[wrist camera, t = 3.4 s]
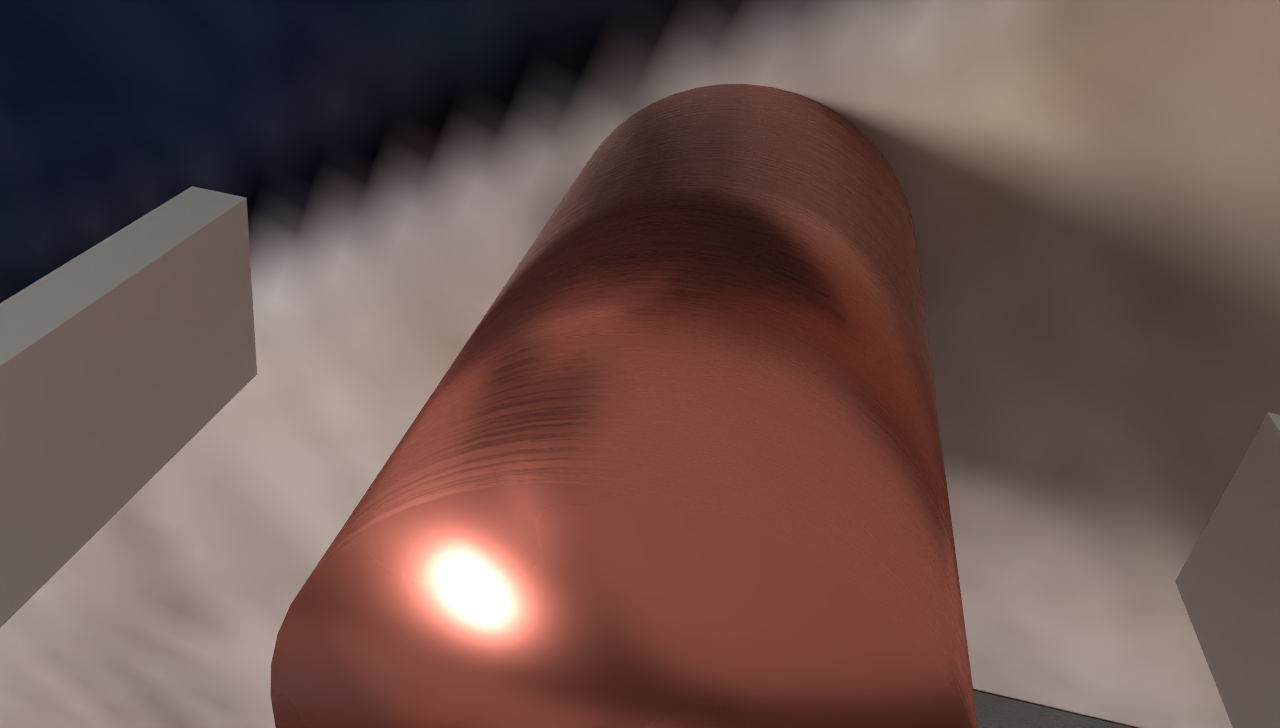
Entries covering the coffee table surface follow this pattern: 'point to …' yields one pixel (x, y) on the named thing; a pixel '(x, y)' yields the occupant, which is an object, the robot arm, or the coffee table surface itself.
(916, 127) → the coffee table surface
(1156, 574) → the coffee table surface
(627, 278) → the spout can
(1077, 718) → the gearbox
